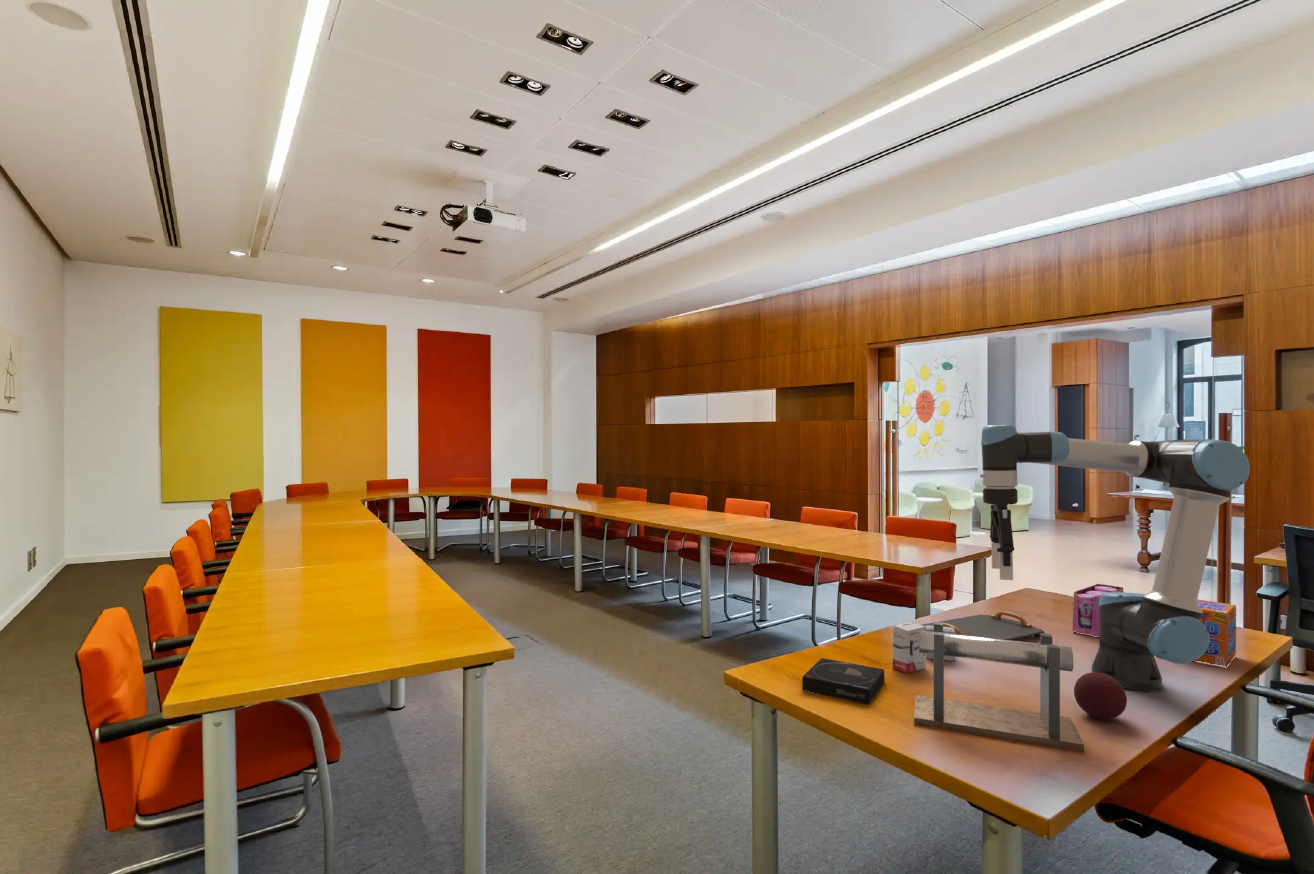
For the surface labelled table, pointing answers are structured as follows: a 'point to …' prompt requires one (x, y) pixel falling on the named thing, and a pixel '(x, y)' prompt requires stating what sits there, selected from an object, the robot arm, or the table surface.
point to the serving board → (992, 626)
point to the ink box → (907, 647)
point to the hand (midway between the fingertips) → (1002, 573)
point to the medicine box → (945, 630)
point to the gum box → (1089, 608)
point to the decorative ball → (1100, 695)
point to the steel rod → (995, 650)
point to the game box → (1219, 632)
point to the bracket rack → (998, 720)
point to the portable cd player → (844, 680)
